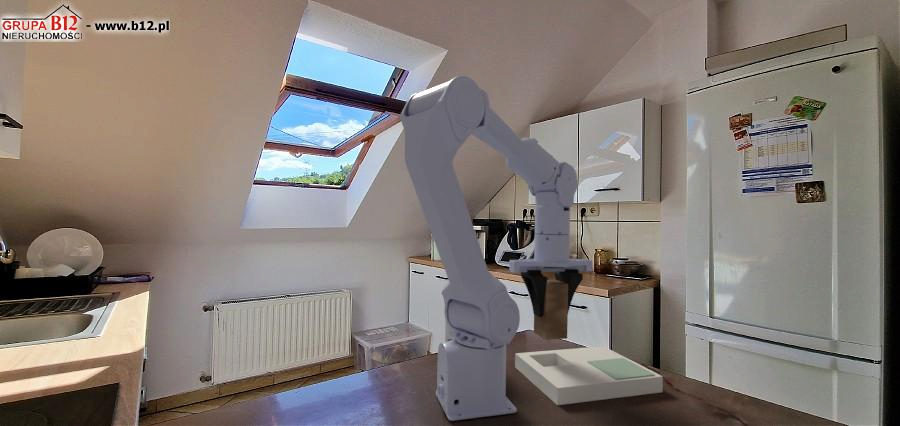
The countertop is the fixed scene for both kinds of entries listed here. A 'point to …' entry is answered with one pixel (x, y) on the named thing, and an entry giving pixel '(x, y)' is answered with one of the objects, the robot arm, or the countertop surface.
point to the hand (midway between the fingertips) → (550, 314)
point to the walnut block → (553, 312)
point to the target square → (620, 368)
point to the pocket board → (581, 375)
